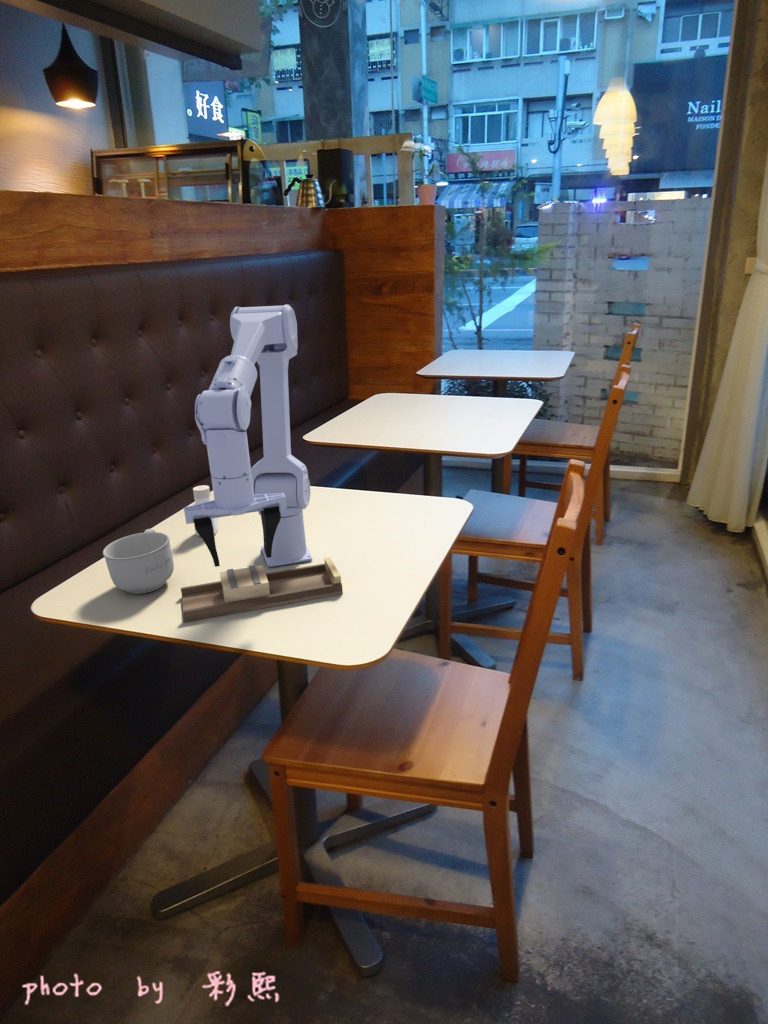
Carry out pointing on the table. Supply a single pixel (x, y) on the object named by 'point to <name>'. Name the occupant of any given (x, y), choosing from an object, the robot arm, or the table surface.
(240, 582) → the banded tan block
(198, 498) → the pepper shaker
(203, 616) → the bay
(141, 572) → the teacup
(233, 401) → the robot arm
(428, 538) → the table surface
